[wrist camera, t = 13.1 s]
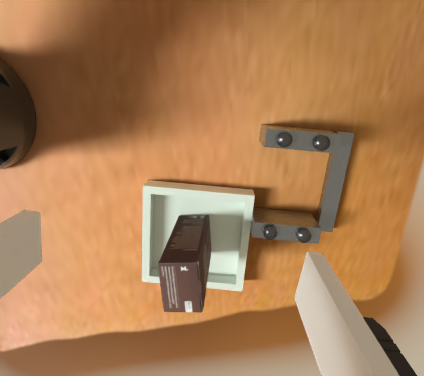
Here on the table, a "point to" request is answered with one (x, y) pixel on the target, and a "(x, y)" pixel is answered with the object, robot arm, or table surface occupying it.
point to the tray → (219, 227)
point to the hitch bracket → (333, 183)
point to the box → (186, 264)
